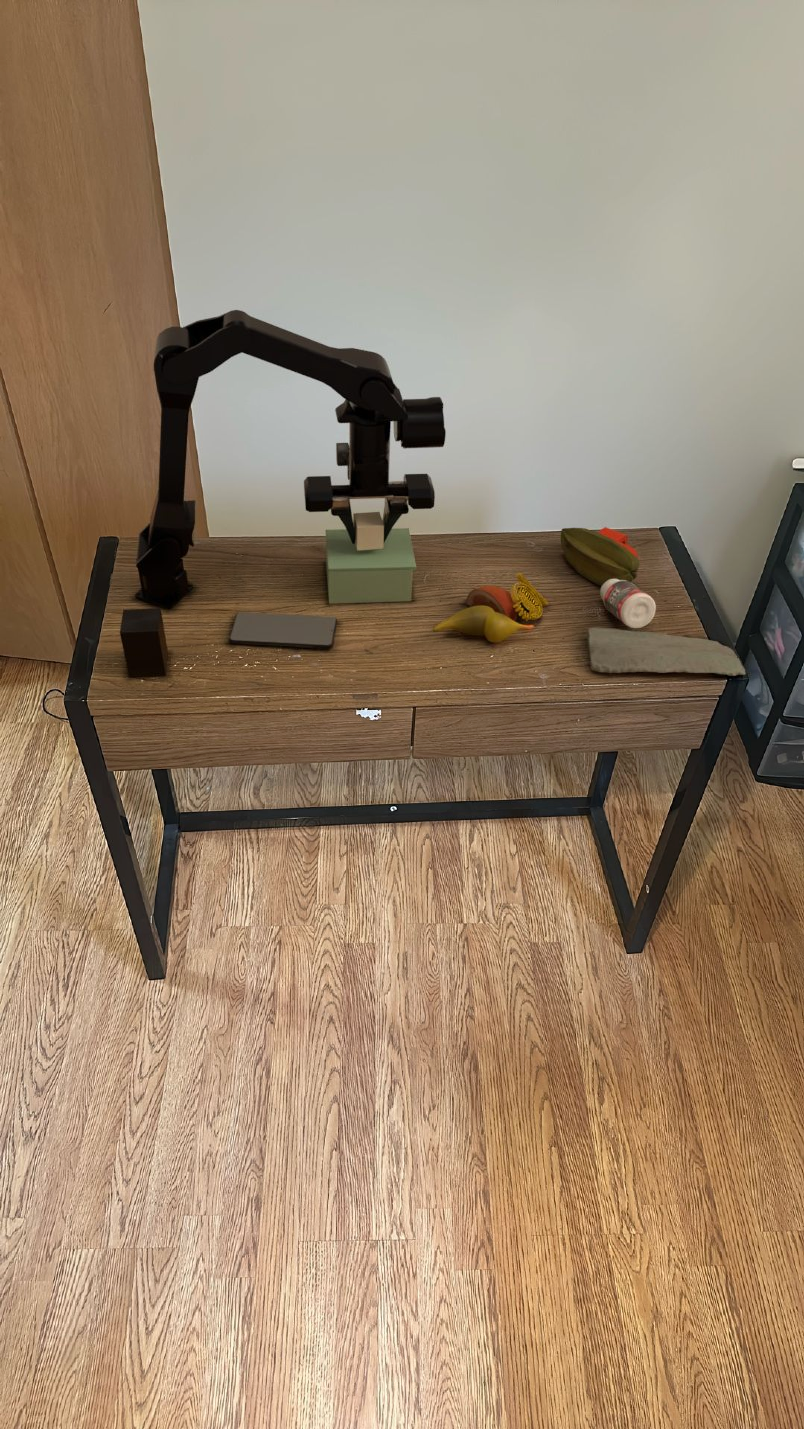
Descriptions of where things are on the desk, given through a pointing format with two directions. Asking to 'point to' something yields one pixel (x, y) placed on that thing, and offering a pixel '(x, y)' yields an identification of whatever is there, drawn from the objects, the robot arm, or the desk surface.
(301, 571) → the desk surface
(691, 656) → the stone slab
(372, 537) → the block
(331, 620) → the smartphone
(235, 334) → the robot arm
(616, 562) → the fruit
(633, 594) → the pill bottle
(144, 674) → the stand
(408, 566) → the cover
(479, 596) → the fruit slice
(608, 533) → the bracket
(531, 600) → the logo
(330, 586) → the case
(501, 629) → the yellow tapered piece
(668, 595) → the desk surface
